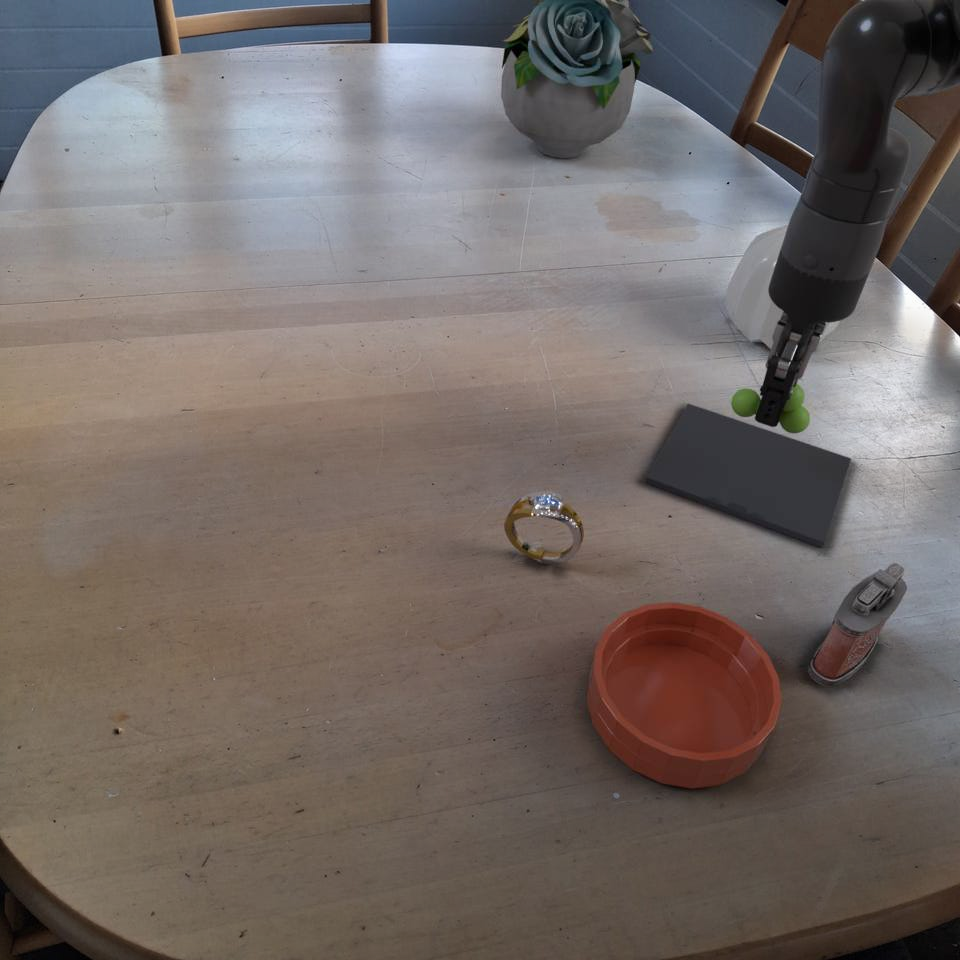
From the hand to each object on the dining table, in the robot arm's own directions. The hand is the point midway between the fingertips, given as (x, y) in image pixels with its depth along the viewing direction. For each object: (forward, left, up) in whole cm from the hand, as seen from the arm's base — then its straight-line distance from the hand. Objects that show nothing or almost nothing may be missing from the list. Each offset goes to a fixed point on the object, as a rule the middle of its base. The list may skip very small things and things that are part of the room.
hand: (770, 412), depth 88 cm
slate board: (0, 0, -8) cm, 8 cm away
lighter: (-13, +19, -8) cm, 24 cm away
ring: (+14, +22, -8) cm, 27 cm away
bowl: (-2, +31, -8) cm, 32 cm away
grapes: (0, 0, -1) cm, 1 cm away
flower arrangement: (+49, -64, -8) cm, 81 cm away
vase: (+4, -28, -8) cm, 29 cm away
